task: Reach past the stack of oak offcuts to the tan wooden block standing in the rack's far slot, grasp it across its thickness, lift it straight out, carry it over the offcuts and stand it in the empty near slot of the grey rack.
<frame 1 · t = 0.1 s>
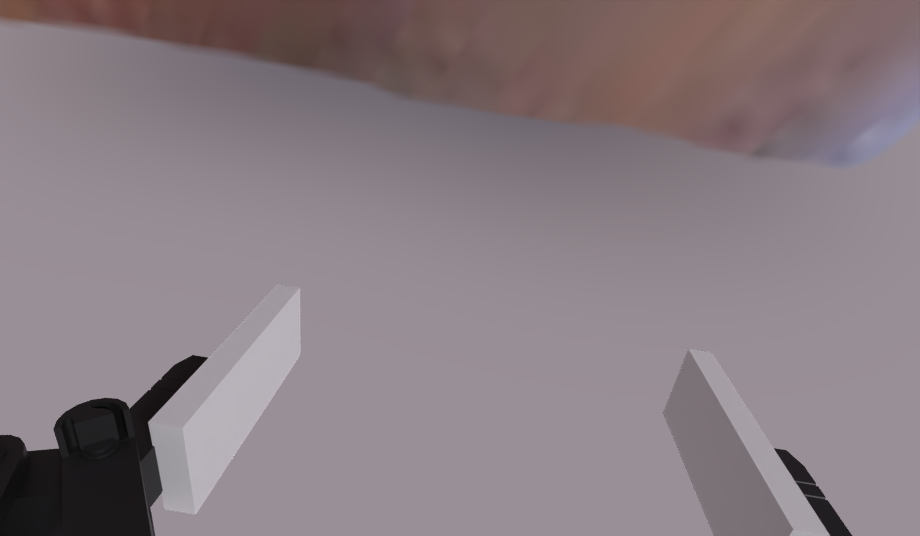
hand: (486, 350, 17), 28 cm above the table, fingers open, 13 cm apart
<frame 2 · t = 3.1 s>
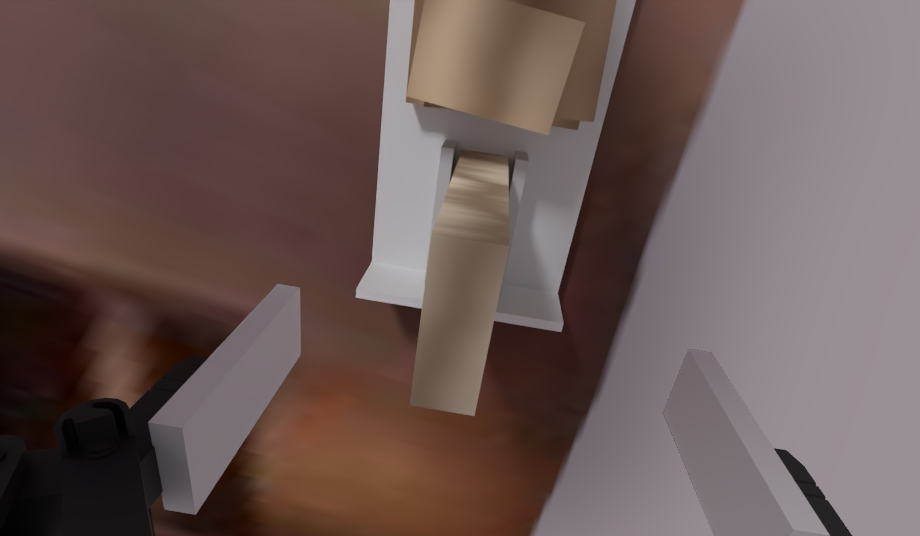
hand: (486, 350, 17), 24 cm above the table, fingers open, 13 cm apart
offcut top: (492, 59, 30), point 5 cm above the table, touching offcut middle
tan wooden block: (475, 214, 39), point 1 cm above the table, touching rack
rack: (502, 51, 35), on the table
offcut bottom: (502, 52, 34), point 1 cm above the table, touching offcut middle, rack
offcut middle: (514, 50, 32), point 3 cm above the table, touching offcut bottom, offcut top
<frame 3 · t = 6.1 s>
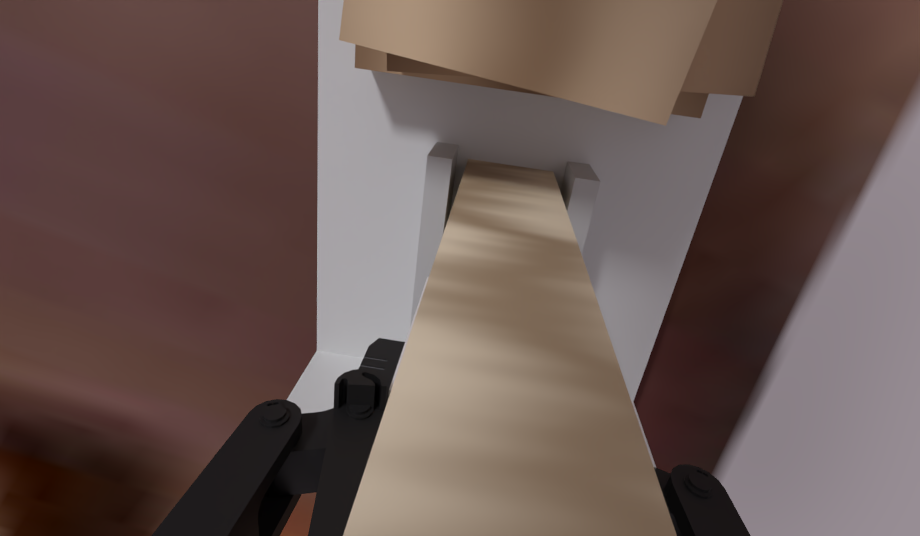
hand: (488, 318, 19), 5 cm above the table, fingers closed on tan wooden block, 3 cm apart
tan wooden block: (491, 274, 22), point 1 cm above the table, touching gripper, rack
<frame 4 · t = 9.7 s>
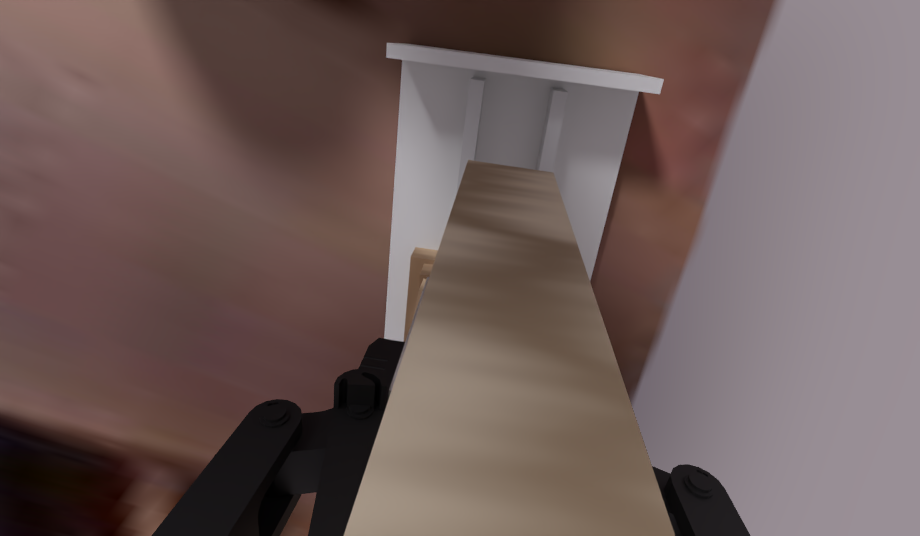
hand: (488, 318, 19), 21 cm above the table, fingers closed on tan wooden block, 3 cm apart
tan wooden block: (491, 275, 22), point 17 cm above the table, touching gripper
rack: (484, 295, 41), on the table
offcut bottom: (483, 302, 40), point 1 cm above the table, touching offcut middle, rack
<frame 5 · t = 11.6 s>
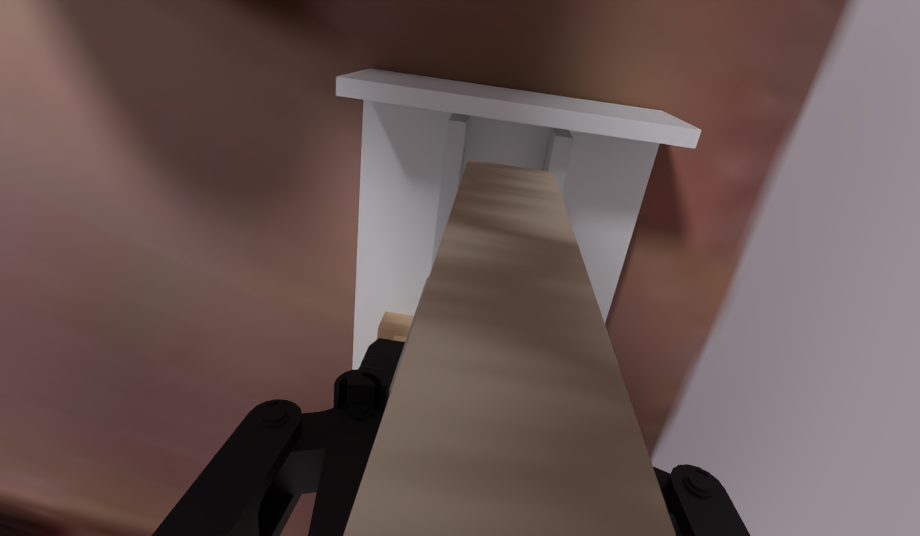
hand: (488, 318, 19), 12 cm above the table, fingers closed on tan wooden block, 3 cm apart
tan wooden block: (491, 275, 22), point 9 cm above the table, touching gripper
rack: (469, 364, 35), on the table
offcut bottom: (467, 374, 34), point 1 cm above the table, touching offcut middle, rack
when the fingers open (6 cm above the table, at t = 13.3 s): tan wooden block drops 1 cm, resting on rack.
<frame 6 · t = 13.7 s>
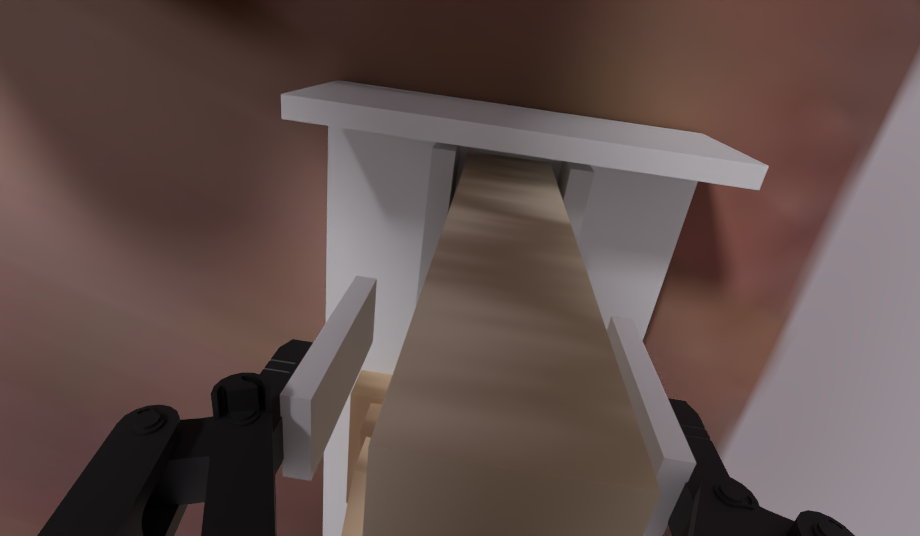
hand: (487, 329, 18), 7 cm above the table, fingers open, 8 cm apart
offcut top: (443, 504, 25), point 5 cm above the table, touching offcut middle
tan wooden block: (491, 261, 23), point 1 cm above the table, touching rack
rack: (462, 427, 29), on the table
offcut bottom: (461, 442, 28), point 1 cm above the table, touching offcut middle, rack
offcut middle: (473, 468, 26), point 3 cm above the table, touching offcut bottom, offcut top
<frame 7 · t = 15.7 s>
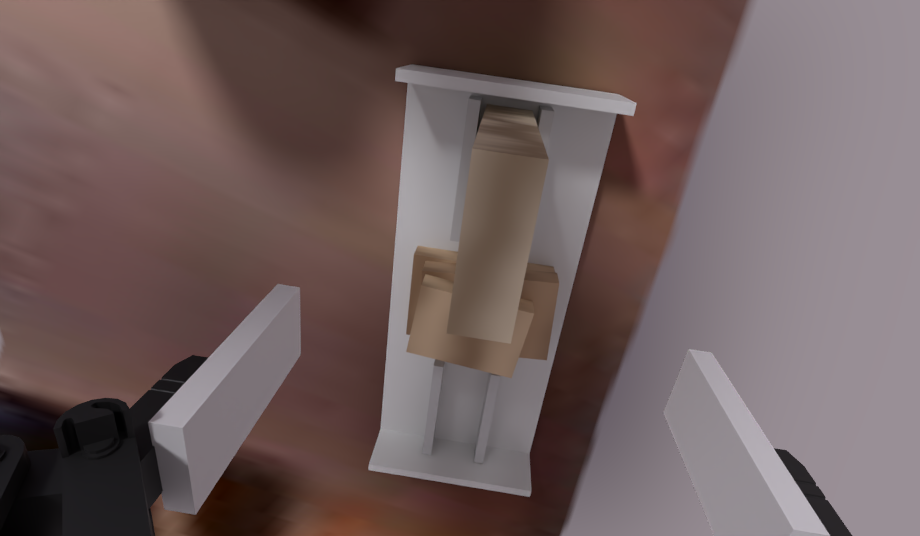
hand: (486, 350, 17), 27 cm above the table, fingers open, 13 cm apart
offcut top: (469, 320, 41), point 5 cm above the table, touching offcut middle
tan wooden block: (499, 171, 40), point 1 cm above the table, touching rack
rack: (479, 289, 46), on the table
offcut bottom: (478, 295, 45), point 1 cm above the table, touching offcut middle, rack
offcut middle: (487, 305, 43), point 3 cm above the table, touching offcut bottom, offcut top
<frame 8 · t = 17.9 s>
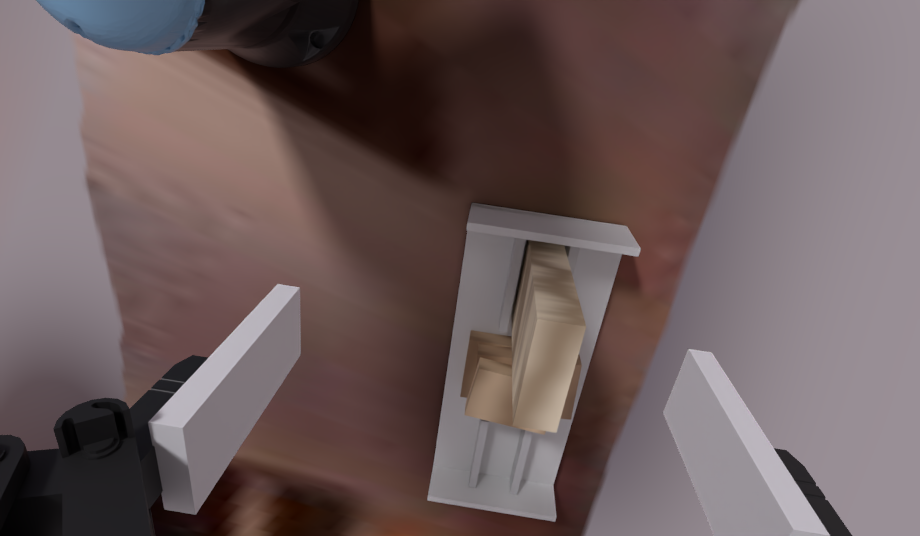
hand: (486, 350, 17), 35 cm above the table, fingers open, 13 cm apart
offcut top: (512, 390, 54), point 5 cm above the table, touching offcut middle
tan wooden block: (535, 279, 52), point 1 cm above the table, touching rack
rack: (516, 360, 58), on the table
offcut bottom: (516, 366, 57), point 1 cm above the table, touching offcut middle, rack
offcut middle: (524, 376, 55), point 3 cm above the table, touching offcut bottom, offcut top
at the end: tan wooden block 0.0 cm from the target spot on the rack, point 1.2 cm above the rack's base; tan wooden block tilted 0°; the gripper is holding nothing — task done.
